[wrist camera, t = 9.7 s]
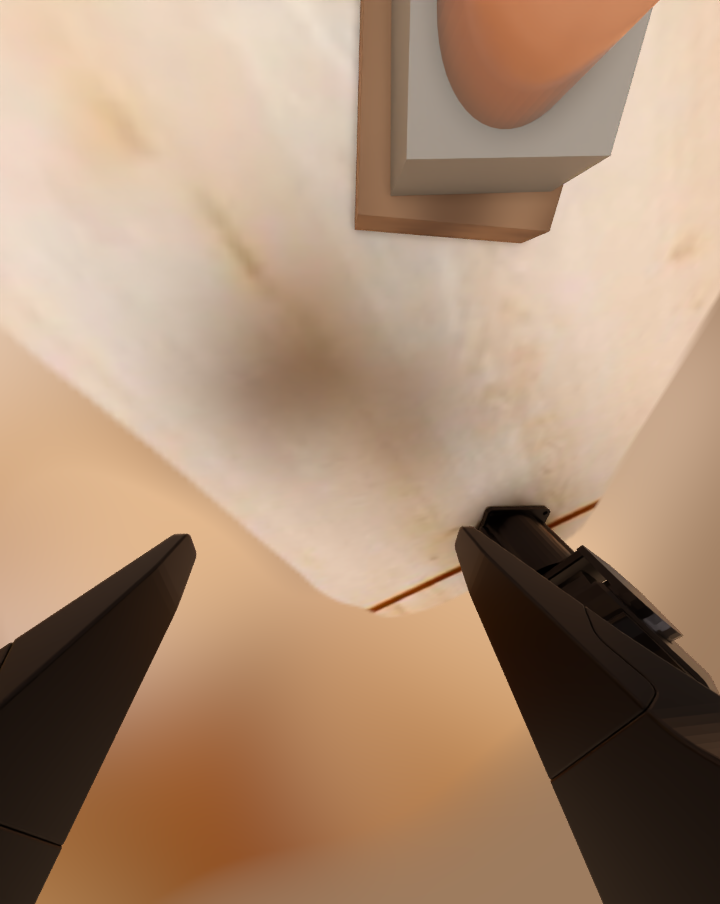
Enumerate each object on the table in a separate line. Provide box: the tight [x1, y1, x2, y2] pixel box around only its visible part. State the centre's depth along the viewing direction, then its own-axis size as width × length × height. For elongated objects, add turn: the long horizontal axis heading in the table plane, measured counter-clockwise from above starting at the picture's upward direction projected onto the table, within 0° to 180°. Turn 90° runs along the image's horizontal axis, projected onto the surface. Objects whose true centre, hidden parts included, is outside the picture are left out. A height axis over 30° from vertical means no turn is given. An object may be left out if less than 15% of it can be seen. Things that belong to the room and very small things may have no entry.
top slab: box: [391, 0, 653, 196], centre depth 9 cm, size 8×8×3 cm
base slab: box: [355, 0, 563, 243], centre depth 12 cm, size 10×10×3 cm
